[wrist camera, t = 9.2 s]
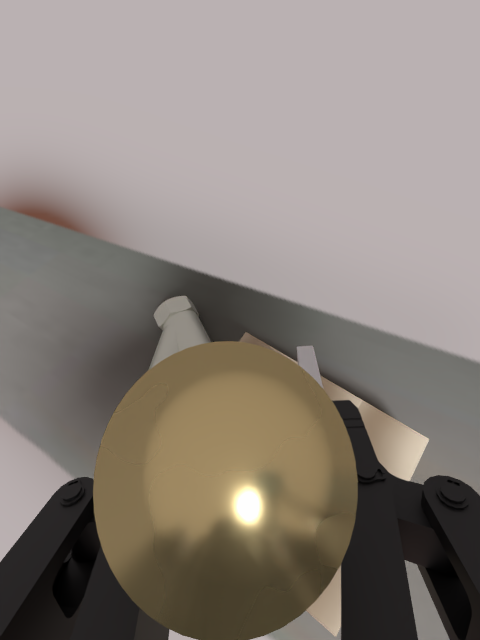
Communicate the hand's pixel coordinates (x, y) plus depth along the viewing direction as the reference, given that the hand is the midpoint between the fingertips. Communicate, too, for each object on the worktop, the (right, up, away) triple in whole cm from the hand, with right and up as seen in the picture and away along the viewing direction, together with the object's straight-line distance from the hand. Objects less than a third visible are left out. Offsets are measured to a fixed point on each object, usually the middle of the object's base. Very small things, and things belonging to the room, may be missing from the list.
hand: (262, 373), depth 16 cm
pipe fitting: (-6, -1, +14) cm, 15 cm away
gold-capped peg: (+1, -5, +1) cm, 5 cm away
